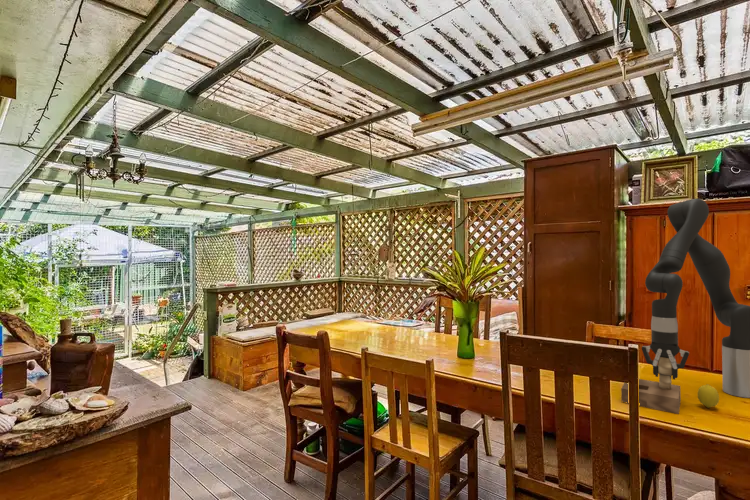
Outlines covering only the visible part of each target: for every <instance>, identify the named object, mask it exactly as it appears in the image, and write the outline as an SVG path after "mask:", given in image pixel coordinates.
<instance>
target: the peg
mask: <svg viewBox="0 0 750 500" xmlns="http://www.w3.org/2000/svg"><path fill="white" fill-rule="evenodd" d="M657 365H658V377H659V381H658V382H659V387H660V388H662V389H666V390H671V384H672V377H673V376H672V368H673V366H672V363H671V361H670V359H669V358H664V357H660V358H659V360H658V363H657Z"/></svg>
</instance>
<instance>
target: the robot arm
mask: <svg viewBox="0 0 750 500" xmlns="http://www.w3.org/2000/svg"><path fill="white" fill-rule="evenodd" d="M709 213H710V208H709V205H708V203H707V202H706V201H705V200H703V199H701V198H691V199H687V200H684V201H680V202H676V203H674V204H670V205H669V206H668V209H667V217H668V220H669V221H670V224H671V227H673V229H674V231H676V233H675V234H674V235H673V236H672V237H671V239H670V240H669V241H668V242H667V243H666V244H665V246H664V247H663V249H662V252H661V254H660V257H659V260H658V262H657V263H656V264H655V265H654V266H653V267H652V269H651V270H650V271H649V272H648V273H647V276H646V277H645V280H644V281H645V283H644V284H645V287H646V289H647V290H648V291H649V292H650V293H651V292H652V293H661V294H666V296H665V297H664V298H659V299H654V300H652V302H651V321H650V328H651V329H650V330H651V332H650V333H651V343H650V345H642V346H641V351H642V354H643V356H644V358H645V361H646V363H647V364H649V365H651V366H652V373H653V375H655V377H656V378H658V377H659V374H658V360H659V358H660V357H664V358H669V359H670V361H671V363H672V366H673V368H672V376H671V377H672V380H676V379H678V376H679V369H684V368H685V366H686V362H687V360H688V358H689V355H690V351H688V350H683V349H681V348H680V346H679V333H678V332H679V325H678V318H677V317H678V316H677V315H678V314H677V309H678V308H677V307H678V302H679V298H680V295H681V292H682V288H683V285H684V283H683V279H682V277H681V276H680V275H679V274H677V273H678V272H680V271H682V268H683V267H684V263H685V261H686V258H687V255H688V254H689V256H690V258H691V261H692V263H693V265H694V267H695V270H696V272H697V273H698V275H699V276H700V280H701V281H702V283H703V285H704V288H705V290H706V292H707V293H708V296H709V299H710V301H711V304H712V308H713V310H714V313H715V316H716V318H717V319H718V321H719V322H720V323H721V324H722V325H724V326H726V327H728V328H729V329H730V330H729V334H728V336H723V337H722V338H721V339H722V340H721V356H722V358H721V359H722V360H721V364H722V365H721V366H722V367H721V369H722V370H721V371H722V392H724V393H726V394H728V395H731V396H735V397H740V398H746V399H747V398H749V399H750V305H747V304H743V303H738V302H737V300H736V298H735V297H734V295H733V292H732V290H731V287H730V281H731V268H730V266H729V263H728V261H727V259H726V258H725V255H724V253H723V252H722V251H721V250H720V249H719V248H718V247H717V246H715V245H714V244H712V243H711V242H710V241H708V240H706V239H705V238H703V237H702V235H700V234H699V233H700V231H701V229H702V227H703V226H704V224H705V223H706V221H707V219H708V217H709ZM650 350H651V351H652V352H653V353H654V355H655V357H654V359H653V360H652V359H651V356H650V354H649V353H650ZM679 353H680V357H682V358H681V360H680V363H677V359H676V356H677V354H679Z"/></svg>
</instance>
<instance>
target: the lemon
mask: <svg viewBox="0 0 750 500" xmlns="http://www.w3.org/2000/svg"><path fill="white" fill-rule="evenodd" d="M697 399H698V401H699V402H700V404H702V405H703V406H705V407H706V408H707V409H710V408H712V407H713V408H714V407H716V406H718V404H719V401H720V395H719V392H718V390H717V388H715V387H714V386H711V384H708V383H706V384H705V385H701V386H700V387H699V388H698V390H697Z"/></svg>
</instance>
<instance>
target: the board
mask: <svg viewBox="0 0 750 500" xmlns="http://www.w3.org/2000/svg"><path fill="white" fill-rule="evenodd" d="M638 379H639V403H640V406H639V407H643V408H648V409H652V410H656V411H661V412H667V413H670V414H676V415H679V414H680V407H681V400H682V399H681V398H682V397H681V395H682V394H681V385H677V384H673V383H671V390H666V389H662V388H660V387H659V381H652V380H647V379H641V378H638ZM620 391H621V393H620V394H621V402H622V401H623V402H627V403H628V384H627V383H625V382H624V383H623V385H622V387H621V390H620ZM627 403H626V404H627Z"/></svg>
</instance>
